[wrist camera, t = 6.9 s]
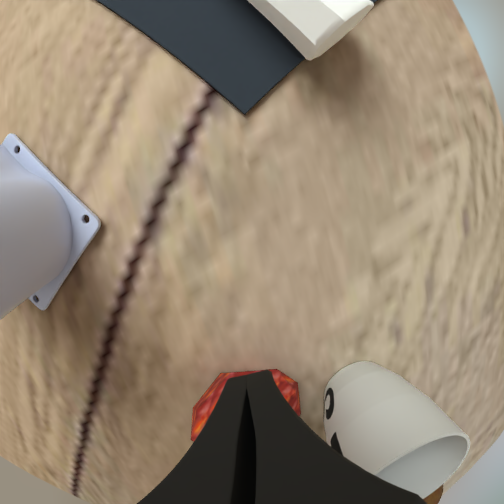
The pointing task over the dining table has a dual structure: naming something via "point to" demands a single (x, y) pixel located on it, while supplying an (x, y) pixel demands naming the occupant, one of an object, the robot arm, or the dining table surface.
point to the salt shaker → (313, 21)
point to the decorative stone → (214, 391)
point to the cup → (391, 428)
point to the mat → (217, 43)
